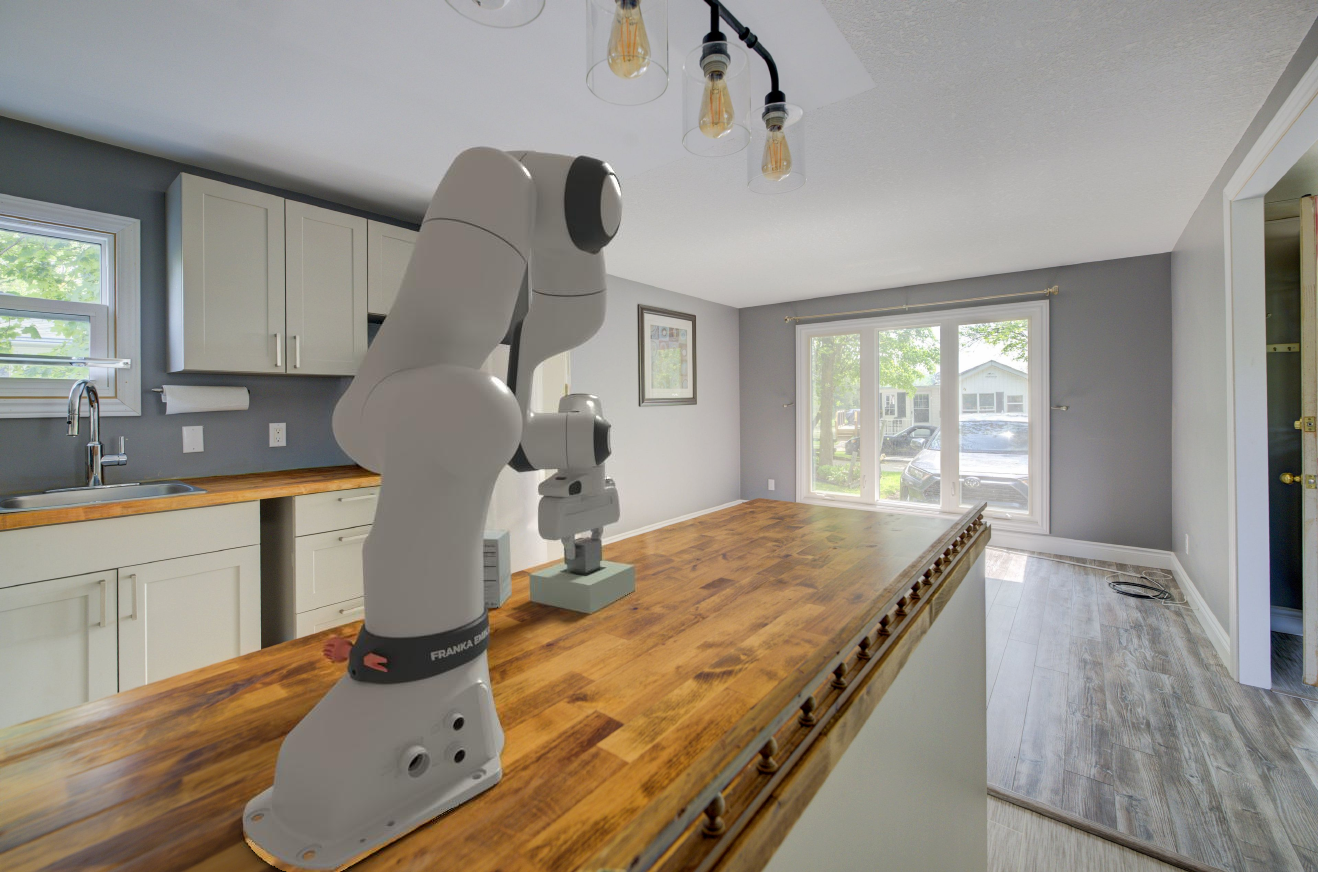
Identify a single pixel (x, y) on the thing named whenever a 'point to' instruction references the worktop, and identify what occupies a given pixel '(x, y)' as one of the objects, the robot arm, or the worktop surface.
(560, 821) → the worktop surface
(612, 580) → the block
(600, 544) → the knob
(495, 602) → the supplement box
